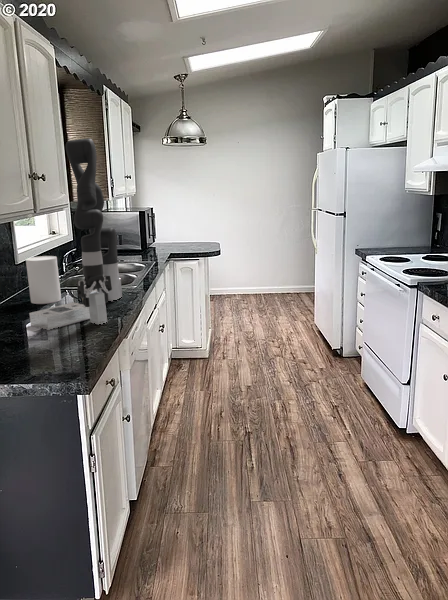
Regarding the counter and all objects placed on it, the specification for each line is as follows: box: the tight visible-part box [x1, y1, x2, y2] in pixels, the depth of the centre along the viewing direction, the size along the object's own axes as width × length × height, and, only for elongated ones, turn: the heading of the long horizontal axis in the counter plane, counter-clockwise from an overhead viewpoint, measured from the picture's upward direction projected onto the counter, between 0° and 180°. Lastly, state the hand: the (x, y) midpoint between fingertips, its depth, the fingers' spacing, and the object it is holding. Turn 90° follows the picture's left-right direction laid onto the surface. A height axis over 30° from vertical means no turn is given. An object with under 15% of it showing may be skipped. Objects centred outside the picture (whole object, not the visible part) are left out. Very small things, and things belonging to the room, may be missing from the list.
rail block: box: [28, 301, 90, 331], centre depth 202 cm, size 20×12×5 cm, turn 142°
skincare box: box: [88, 291, 108, 325], centre depth 198 cm, size 6×4×12 cm
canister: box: [25, 255, 62, 305], centre depth 237 cm, size 14×14×20 cm
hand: (96, 304), depth 197 cm, fingers open, 8 cm apart
